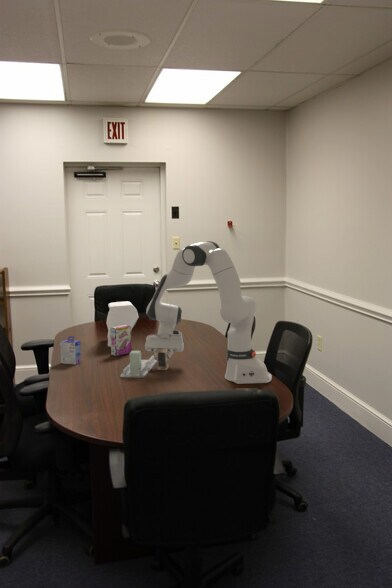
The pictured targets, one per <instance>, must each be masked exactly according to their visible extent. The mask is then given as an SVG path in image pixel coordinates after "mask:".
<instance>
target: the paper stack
mask: <svg viewBox="0 0 392 588" xmlns="http://www.w3.org/2000/svg"><path fill="white" fill-rule="evenodd" d="M107 305H108V308H109V311H108V313H107V317H106V327H107V330H108V331H107V340H108V341H107V347H108V348H111V327H116V326H121V325H130V326H131V331H132V329H133V328H134V327H135V325H136V323H137V321H138V319H139V313H138V310H137V308H136V307H135V306H134V305H133V304H132V302H130V301H127V300H126V301H116V302H110V303H108V304H107Z"/></svg>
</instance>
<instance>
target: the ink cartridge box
mask: <svg viewBox="0 0 392 588" xmlns="http://www.w3.org/2000/svg"><path fill="white" fill-rule="evenodd" d="M59 343H60V344H59V345H60V347H59V348H60V364H64V365H79V364H81V363H82V351H81V348H82V347H81V340H75V336H71V335H69V336H68V338H67V339H65V340H62V341H60V342H59Z"/></svg>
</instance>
